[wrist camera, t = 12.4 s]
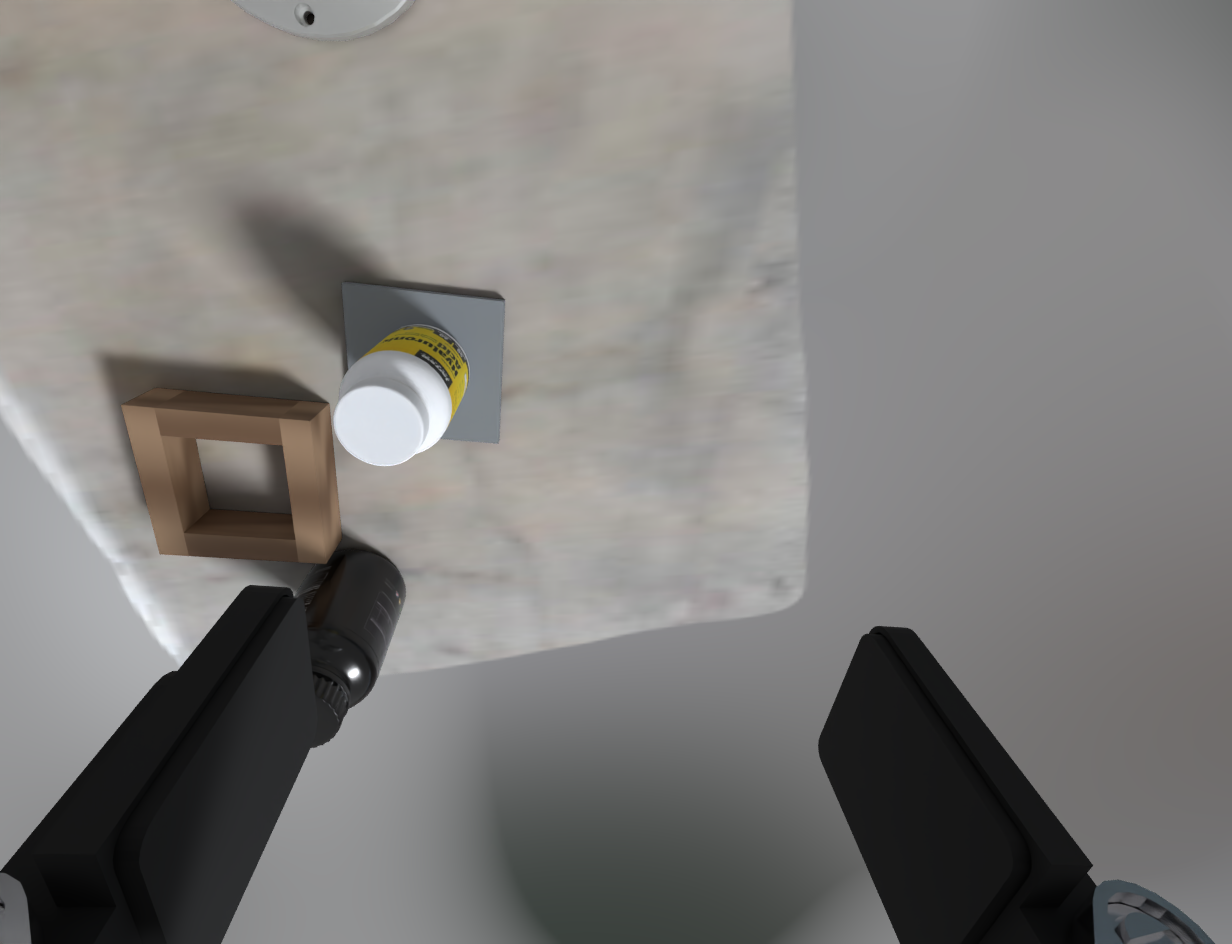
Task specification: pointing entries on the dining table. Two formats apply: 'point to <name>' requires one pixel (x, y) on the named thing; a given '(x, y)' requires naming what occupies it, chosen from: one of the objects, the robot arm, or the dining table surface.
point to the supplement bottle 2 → (348, 630)
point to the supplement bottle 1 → (401, 395)
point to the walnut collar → (178, 487)
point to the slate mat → (458, 315)
